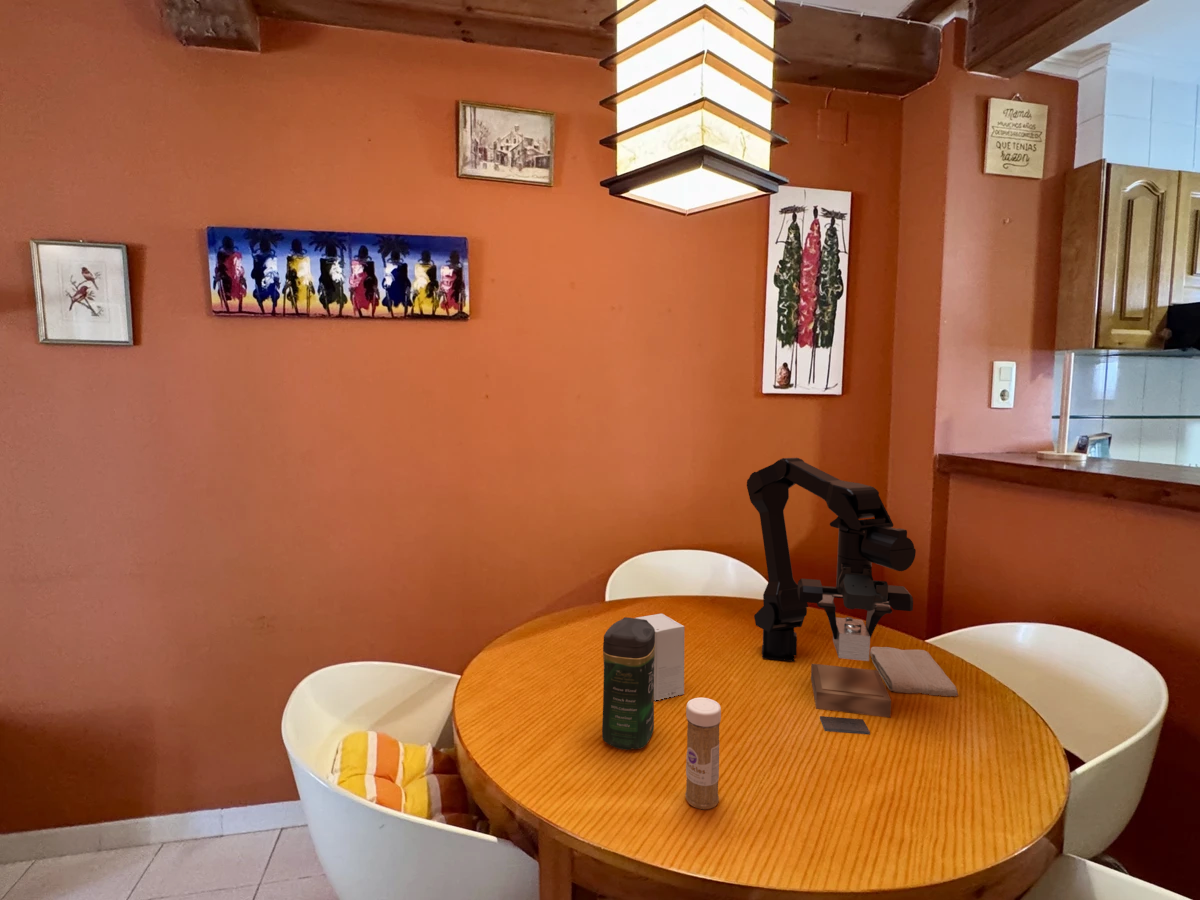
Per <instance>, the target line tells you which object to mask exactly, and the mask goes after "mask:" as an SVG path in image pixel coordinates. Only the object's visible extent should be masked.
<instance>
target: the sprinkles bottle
mask: <svg viewBox="0 0 1200 900" xmlns="http://www.w3.org/2000/svg"><path fill="white" fill-rule="evenodd" d="M685 709H686V711H685V715H686V716H685V717H686V721H687V730H686V731H687V732H686V738H687V739H686V741H687V742H686V755H685V757H686V759H685V760H686V761H685V775H686V779H685V780H686V787H685V793H684V795H685V799H686V802H688V804H689V805H690V806H692V807H694V808H695V809H699V810H709V809H712V808H714V807H716V806H717V804H718V803H719V801H720V799H719V798H720V797H719V779H720V724H721V719H722V710H721V709H722V708H721V705H720V703H719V702H717V701H716V700H714V699H711V698H708V697H695V698H691V699H690V700H688V702H687V703H686V708H685Z"/></svg>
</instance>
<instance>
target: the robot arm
mask: <svg viewBox="0 0 1200 900" xmlns="http://www.w3.org/2000/svg"><path fill="white" fill-rule="evenodd" d="M794 485H797V486H799V487H801V488H803V489H805V490H806V491H808V492H810V493H812V494H813V495H816V496H817V497H818V498H819V497H820V499H822V500H823V501H825V503H826V505H827V508H828V509H829V511H831V512H833V513H834V514H835V515H836V516H837V517H836V518H835V519H834V520H832V521H830V523H829V526H830V528H831V527H832V528H834V529H835V528H836V529H837V530H838V535H837V536H838V537H837V557H836V558H837V562H836V583H835V586H827V585H822V582H821V579H813V578H812V579H811V578H800V579H799V580H798V581H797V582H796V581H795V579H794V576H793V568H792V562H791V554H790V546H789V542H788V541H789V540H788V534H787V527H786V521H785V520H786V519H785V513H784V512H785V511H784V510H785V508H786V505H787V503H788V501H789V498H790V496H789V495H790V494H789V493H790V488H792V487H794ZM746 488H747V492H748V496H749V501H750V503H751V504H752V505H753V507H754V508H755V509H756V511H757V512H758V514H759V520H760V527H761V533H762V541H763V548H764V555H765V562H766V570H767V578H768V583H767V584H766V586H765V590H764V591H763V595H762V598H763V599H762V600H763V602H762V603H763V606H762V607H761V608H760V609H759V610H758V611H757V612H756V613H755V614H754V615H753V616H754V617H753V618H754V623H755V626H756V627H758V628H760V629H762V645H761V658H762V659H766V660H775V661H783V662H784V661H785V662H786V661H787V662H794V661H795V656H797V649H798V647H797V644H798V636H797V632H795V628H801V627H802V626H803V623H804V620H805V617H806V616H807V614H808V613H807V612H808V608H809V604H810V603H811V604H816V605H817V607H819V608H821V609H823V610H824V611H825V613H826V616H827V618H828V622H829V625H830V629H831V632H832V638H833V637H834V639H837V626H836V610H837V609H836V608H837V607H836V605H835V602H834V599H835V598H836V599H837V598H838V599H842V601H843V606H844V607H845V608H846V609H848V610H855V609H856V610H864V611H867V612H866V619H865V620H866V621H865V626H866V629H867V631H868V633H869V635H870V639H871V638H872V637H873V633H874V631H875V629H876V627H877V625H878V623H879V621H880V620H881V619H882V617H884V616H885V615H888V614H892V613H893V610H894V611H901V612H902V611H903V612H904V611H905V612H912V611H913V610H914V598H913V596H912V594H911V593H910V592H909V590H907V588H906V587H905V586H902V585H893V584H891V585H889V584H888V582H887V581H886V580H885V581H884V580H874V577H873V572H872V571H873V570H872V569H873V568H872V567H873V565H872V564H876V565H879V566H882V567H884V568H888V569H891V570H894V571H897V572H905V571H906V570H908V569H909V568H910V567H911V566H912V565H913V563H914V561H915V558H916V548H915V545H914V542H913V541H912V539H910V538H909V537H908V530H907V529H905V528H896V527H894V523H893V521H892V519H891V516H890V514H889V513H888V510H887V508H886V507H885V505H884V503H883V501H882V499H881V497H880V492H879V491H878V490H877V489H876V488H875V487H874V486H871V485H867V484H864V483H859V482H853V481H846V480H841V479H840V478H838V477H835V476H833V475H832V474H829V473H827V472H825V471H823V470H821V469H819V468H818V467H815V466H813V465H811V464H810V463H807V462H805V460H803V459H802V458H799V457H782V458H780V459H778V460H777V461H775V462H774V463H773V464H770V465H768V466H766V467H764V468H761V469H759V470H757V471H753V472H752V473H751V474H750V475H749V477H748V479H747V480H746ZM808 603H809V604H808Z"/></svg>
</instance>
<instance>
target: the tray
mask: <svg viewBox="0 0 1200 900" xmlns="http://www.w3.org/2000/svg"><path fill="white" fill-rule="evenodd" d="M810 666H811V667H810V680H811V681H810V682H811V686H812V693H813V696H814V703H815V709H816V710H817V709H819V710H827V711H833V712H834V711H835V712H842V713H850V714H852V713H853V714H859V715H860V714H861V715H866V716H874V717H876V716H877V717H885V718H891V714H892V713H891V710H892V700H891V697H890V695H889V692H888V690H887V688H886V686H885V685H886V684H885V682H884V680H883V678H882V677H881V675H880V674H879V671H878V670H877V669H869V668H865V669H864V668H857V667H848V666H847V667H846V666H838V665H831V664H830V665H828V664H819V663H811V665H810Z"/></svg>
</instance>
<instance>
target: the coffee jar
mask: <svg viewBox="0 0 1200 900" xmlns="http://www.w3.org/2000/svg"><path fill="white" fill-rule="evenodd" d="M636 618H637V617H627V616H625V617H623V618H622V619H619V620H618V621H616V622H615V623H613V624H612V625H610V626H609V628H608V629H607V630H606V631H605V633H604V635H603V643H602V644H603V645H602V646H603V647H602V655H603V690H602V691H603V694H602V695H603V697H602V719H601V720H602V723H601V725H602V727H601V728H602V729H601V737H602V740H603V741H604V742H605V743H606V744H608V745H610V746H612V747H613V748H616V749H618V750H624V749H625V750H626V751H628V750H638V749H643V748H645V746H647V744H648V743H649V742H650V740H651V738H652V735H653V733H654V727H655V700H654V661H655V660H654V658H655V629H654V627H653V626H652V625H651V624H650V623H649V622H648V621H647V620H644V619H636Z"/></svg>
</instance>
